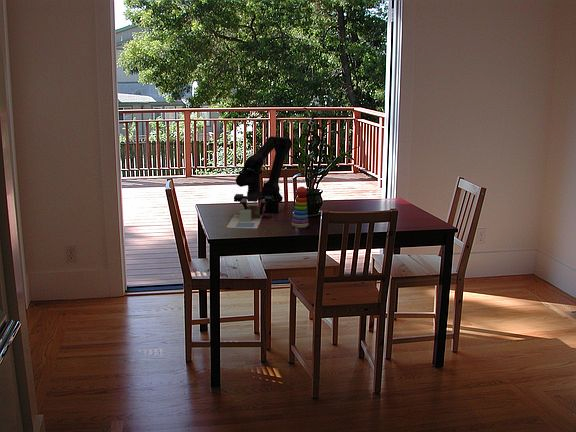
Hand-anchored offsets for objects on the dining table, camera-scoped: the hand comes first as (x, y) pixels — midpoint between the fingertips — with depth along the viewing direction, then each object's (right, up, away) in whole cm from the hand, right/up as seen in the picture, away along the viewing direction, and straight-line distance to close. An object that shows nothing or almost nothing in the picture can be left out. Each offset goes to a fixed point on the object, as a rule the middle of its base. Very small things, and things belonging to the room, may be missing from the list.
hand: (253, 215), depth 333 cm
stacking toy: (+22, -5, -14) cm, 26 cm away
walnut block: (0, -1, 0) cm, 1 cm away
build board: (-4, -3, -9) cm, 10 cm away
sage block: (-3, -2, -7) cm, 9 cm away
